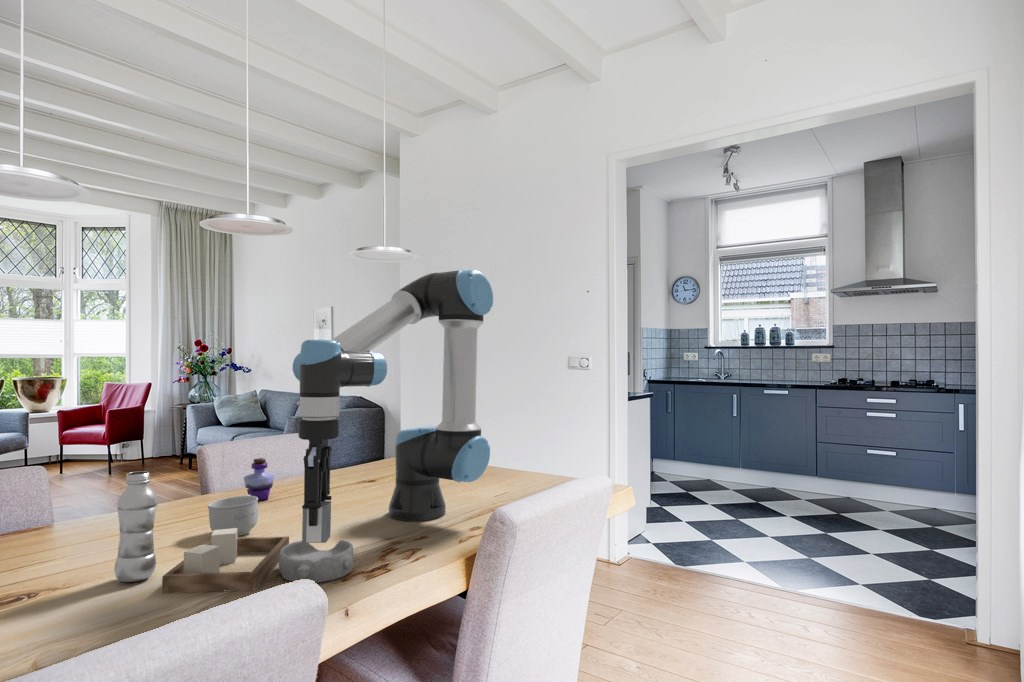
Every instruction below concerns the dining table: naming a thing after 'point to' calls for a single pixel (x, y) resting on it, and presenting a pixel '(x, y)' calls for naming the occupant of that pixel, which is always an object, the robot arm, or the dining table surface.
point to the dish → (315, 561)
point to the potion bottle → (259, 480)
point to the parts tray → (228, 580)
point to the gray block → (325, 522)
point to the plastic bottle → (136, 529)
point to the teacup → (234, 513)
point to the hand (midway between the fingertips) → (316, 537)
